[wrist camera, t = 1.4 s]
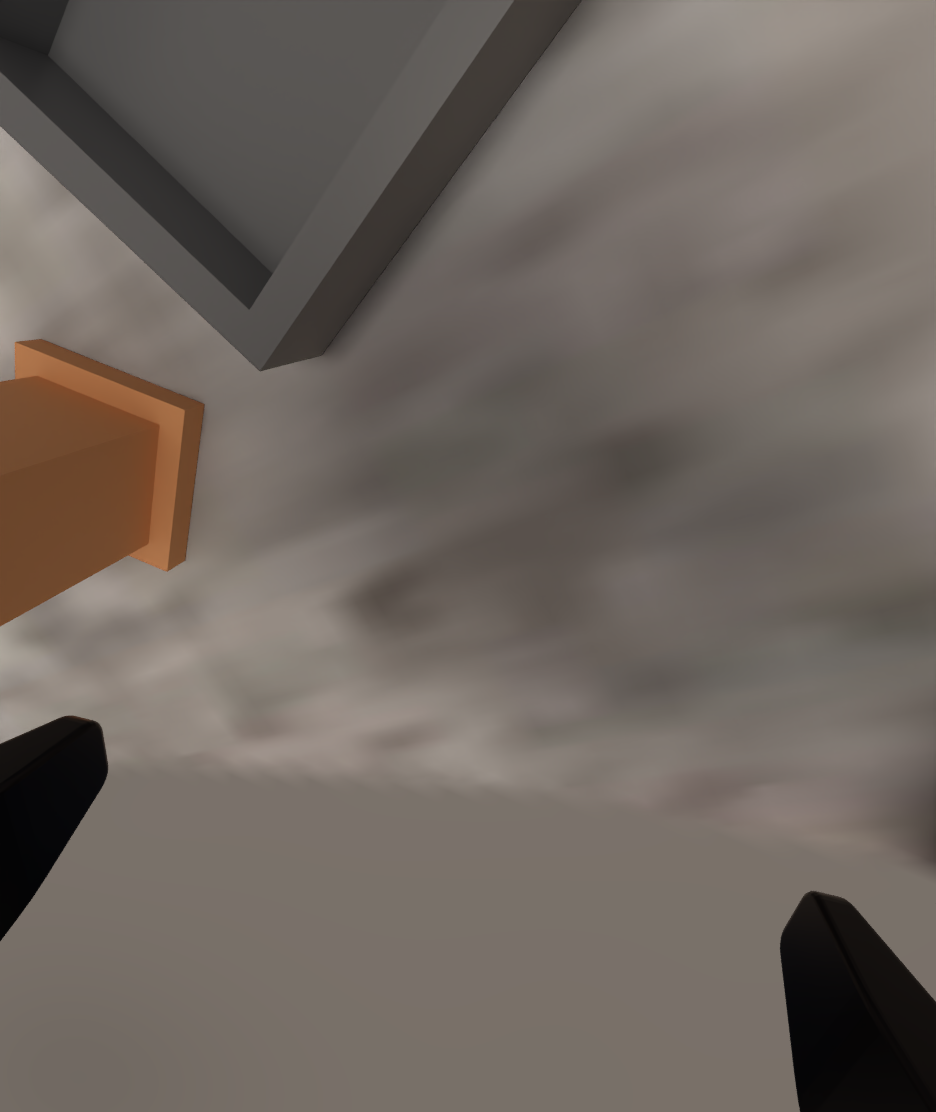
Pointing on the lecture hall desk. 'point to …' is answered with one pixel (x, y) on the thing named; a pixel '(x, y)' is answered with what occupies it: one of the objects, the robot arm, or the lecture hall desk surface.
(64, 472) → the orange post with base
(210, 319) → the gray square tray
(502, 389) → the lecture hall desk surface
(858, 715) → the lecture hall desk surface
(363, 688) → the lecture hall desk surface
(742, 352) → the lecture hall desk surface
